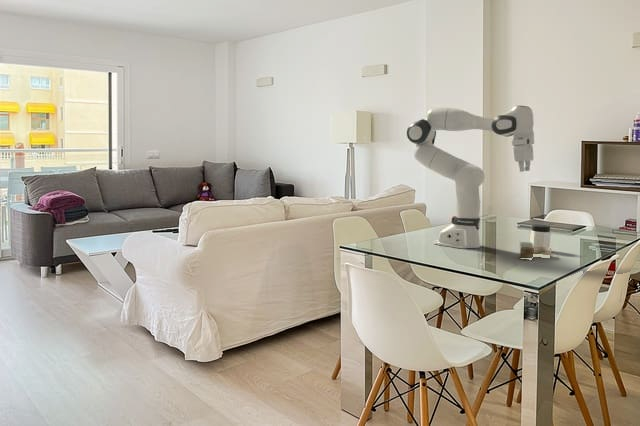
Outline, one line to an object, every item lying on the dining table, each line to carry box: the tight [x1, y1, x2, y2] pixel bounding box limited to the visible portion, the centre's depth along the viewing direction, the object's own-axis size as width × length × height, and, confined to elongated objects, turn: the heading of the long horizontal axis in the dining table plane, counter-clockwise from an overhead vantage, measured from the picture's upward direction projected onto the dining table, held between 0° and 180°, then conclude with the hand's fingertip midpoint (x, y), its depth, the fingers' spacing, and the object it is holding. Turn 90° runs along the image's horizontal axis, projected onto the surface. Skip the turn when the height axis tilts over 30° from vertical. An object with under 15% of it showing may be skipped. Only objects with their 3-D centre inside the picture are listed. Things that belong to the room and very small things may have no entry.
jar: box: [529, 224, 552, 248], centre depth 264 cm, size 9×8×12 cm
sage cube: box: [518, 241, 533, 252], centre depth 256 cm, size 5×5×5 cm
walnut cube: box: [519, 247, 534, 259], centre depth 243 cm, size 5×5×5 cm
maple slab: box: [532, 246, 553, 255], centre depth 250 cm, size 8×8×4 cm
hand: (524, 171), depth 254 cm, fingers open, 8 cm apart
